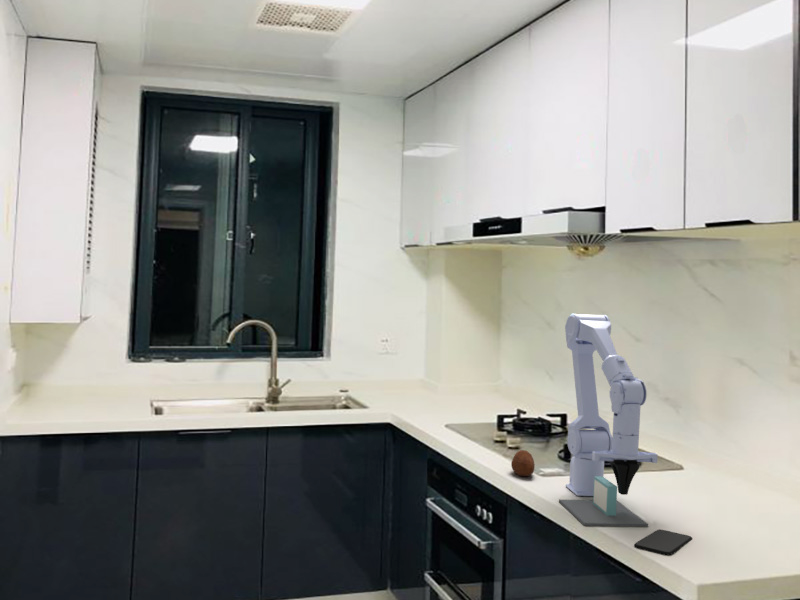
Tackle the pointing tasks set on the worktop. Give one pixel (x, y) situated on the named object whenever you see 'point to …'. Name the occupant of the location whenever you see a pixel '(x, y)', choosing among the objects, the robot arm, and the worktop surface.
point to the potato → (523, 463)
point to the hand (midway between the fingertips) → (622, 493)
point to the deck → (605, 495)
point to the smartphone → (663, 542)
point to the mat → (602, 514)
